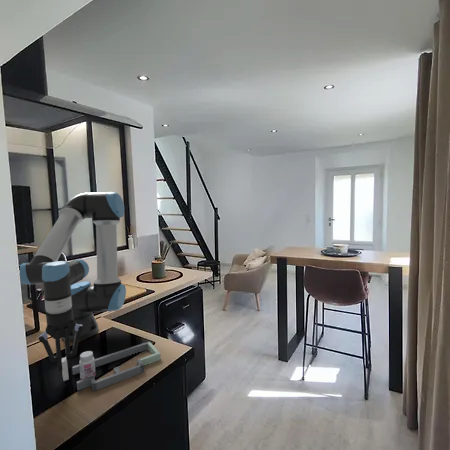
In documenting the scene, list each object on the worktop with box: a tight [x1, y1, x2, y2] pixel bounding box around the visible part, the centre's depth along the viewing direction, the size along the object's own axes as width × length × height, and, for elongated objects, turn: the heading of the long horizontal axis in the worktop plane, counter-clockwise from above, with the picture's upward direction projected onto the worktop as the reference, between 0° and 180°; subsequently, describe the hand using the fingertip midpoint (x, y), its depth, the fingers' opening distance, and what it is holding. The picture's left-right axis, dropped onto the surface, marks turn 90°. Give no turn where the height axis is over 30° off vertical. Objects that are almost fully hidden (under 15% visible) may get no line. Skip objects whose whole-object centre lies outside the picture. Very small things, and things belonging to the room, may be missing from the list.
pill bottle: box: [78, 350, 96, 380], centre depth 97 cm, size 5×5×8 cm
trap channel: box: [71, 341, 161, 392], centre depth 102 cm, size 15×28×2 cm, turn 125°
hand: (65, 378), depth 94 cm, fingers closed
